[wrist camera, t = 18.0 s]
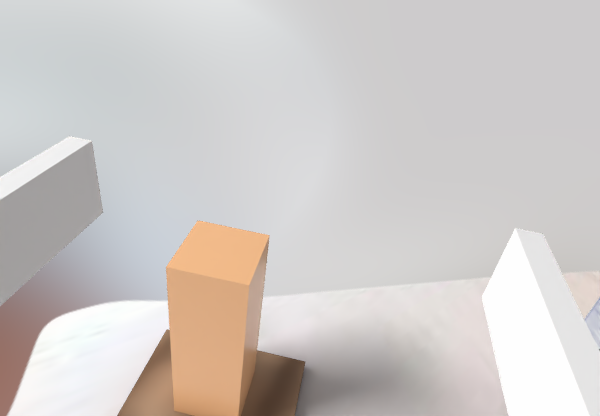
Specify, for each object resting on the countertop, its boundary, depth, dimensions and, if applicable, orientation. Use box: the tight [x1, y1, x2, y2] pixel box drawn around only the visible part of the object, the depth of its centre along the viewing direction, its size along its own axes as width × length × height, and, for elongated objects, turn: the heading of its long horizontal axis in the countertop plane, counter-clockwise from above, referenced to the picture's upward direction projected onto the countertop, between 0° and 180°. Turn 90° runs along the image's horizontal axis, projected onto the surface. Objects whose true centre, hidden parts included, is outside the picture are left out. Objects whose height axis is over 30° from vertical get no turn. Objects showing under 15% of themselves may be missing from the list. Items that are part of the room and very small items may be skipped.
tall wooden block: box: [166, 221, 269, 416], centre depth 38 cm, size 6×6×18 cm
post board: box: [117, 330, 305, 416], centre depth 42 cm, size 16×11×8 cm
